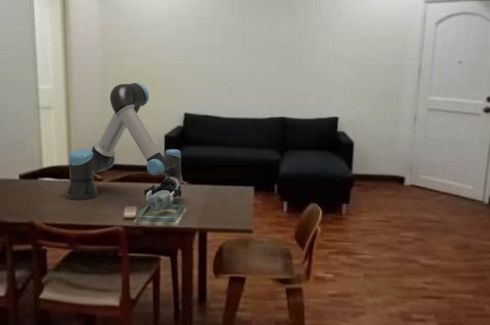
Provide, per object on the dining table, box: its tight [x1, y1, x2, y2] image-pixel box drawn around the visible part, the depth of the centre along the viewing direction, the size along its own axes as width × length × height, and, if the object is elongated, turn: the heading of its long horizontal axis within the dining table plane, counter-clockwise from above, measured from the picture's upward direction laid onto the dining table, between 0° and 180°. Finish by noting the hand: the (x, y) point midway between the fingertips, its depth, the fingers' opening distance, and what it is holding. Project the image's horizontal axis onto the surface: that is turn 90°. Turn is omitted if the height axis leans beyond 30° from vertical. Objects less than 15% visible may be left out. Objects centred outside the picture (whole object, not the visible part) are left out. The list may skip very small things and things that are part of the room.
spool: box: [147, 190, 174, 212], centre depth 246 cm, size 14×10×10 cm
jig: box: [133, 203, 187, 227], centre depth 248 cm, size 19×22×4 cm
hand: (159, 197), depth 242 cm, fingers closed on spool, 10 cm apart
